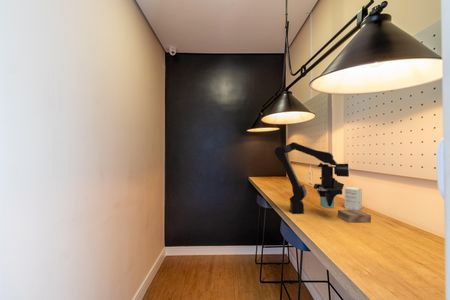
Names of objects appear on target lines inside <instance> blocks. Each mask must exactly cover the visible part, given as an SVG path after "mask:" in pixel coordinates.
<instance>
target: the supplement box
mask: <svg viewBox="0 0 450 300" xmlns="http://www.w3.org/2000/svg"><path fill="white" fill-rule="evenodd" d="M362 199H363V198H362V188H361V187H353V186H348V187H344V210H359V211H361V210H362V207H363V206H362V205H363V204H362Z"/></svg>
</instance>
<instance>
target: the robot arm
mask: <svg viewBox="0 0 450 300" xmlns="http://www.w3.org/2000/svg"><path fill="white" fill-rule="evenodd" d="M292 151H298V152H300V153H304V154H306V155H310V156H311V157H314V158H315V159H317V160H318V161H320V162H319V164H317V166H316V167H317V168H321V171H320V172H321V176H320V177H319V179H320V180H321V181H320V183H314V184H313V189H315V190H316V192H317V193H318V195H319V198H320V197H326V199H327V203H328V206H331V204H332V202H333V199H334V200H335V197H336V196H339V195H343V189H344V187H345V186H344V185H345V184H344V183H342V182H339V181H338V180H337V179H336V178H335V177H334V175H335V176H336V177H342V178H343V177H344V178H349V177H350V169H349V163H337V161H336V160H335V159H334V155H333V154H332V153H331V152H327V151H322V150H316V149H314V148H312V147H309V146H305V145H302V144H300V143H298V142H291V143H288V144H286V145H284V146H279V147H278V146H277V147H276V148H274V155H275V157H276V158H277V159H278V160H279V161H280V163H281V164H282V167H283V169H284V170H285V174H286V175H287V178H288V181H289V182H290V184H291V188H292V189H291V190H292V194H293V195H292V196H291V197H290V198H289V203H290V204H289V207H290V208H289V212H290V213H291V214H292V215H293V214H295V215H297V214H300V215H301V214H305V209H304V208H305V207H304V206H305V204H304V202H303V199H305V198H306V196H307V191H308V190H307V189H306V188H305V184H301V183H300V182H299V180H298V177H297V175H296V173H295V171H294V169H293V166H292V163H291V162H290V158H289V154H288V153H291V152H292Z"/></svg>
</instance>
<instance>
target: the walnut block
mask: <svg viewBox="0 0 450 300" xmlns="http://www.w3.org/2000/svg"><path fill="white" fill-rule="evenodd" d="M337 217H338V218H339V219H341V220H344V221H345V222H347V223H348V224H351V223H353V224H357V223H358V224H362V223H363V224H366V223H367V224H371V222H372V221H371V220H372V215H371V214H368V213H366V212H363V211H361V210H350V209H337Z"/></svg>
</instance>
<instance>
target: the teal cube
mask: <svg viewBox="0 0 450 300" xmlns="http://www.w3.org/2000/svg"><path fill="white" fill-rule="evenodd" d="M319 200H320V201H319V203H320V204H319V206H320V207H322V208H324V209H334V208H335V198H334V199H333V202H332V204H331V206H328V203H327V199H326V197H320V196H319Z"/></svg>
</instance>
